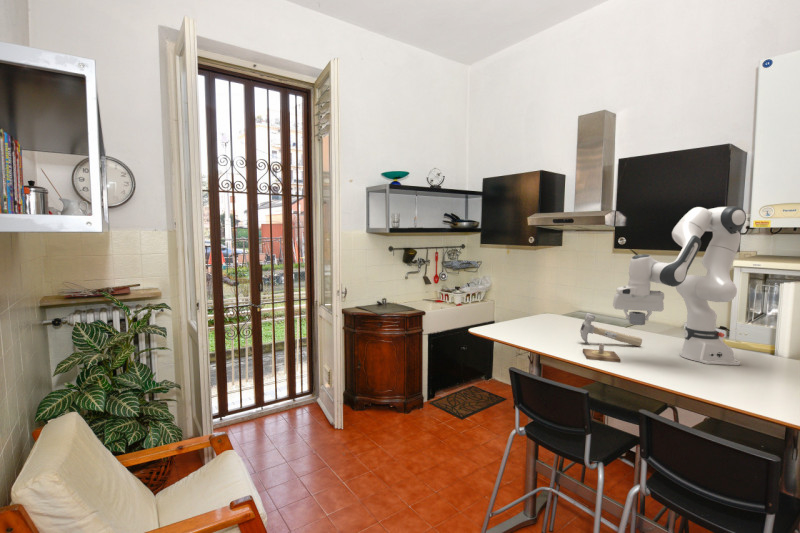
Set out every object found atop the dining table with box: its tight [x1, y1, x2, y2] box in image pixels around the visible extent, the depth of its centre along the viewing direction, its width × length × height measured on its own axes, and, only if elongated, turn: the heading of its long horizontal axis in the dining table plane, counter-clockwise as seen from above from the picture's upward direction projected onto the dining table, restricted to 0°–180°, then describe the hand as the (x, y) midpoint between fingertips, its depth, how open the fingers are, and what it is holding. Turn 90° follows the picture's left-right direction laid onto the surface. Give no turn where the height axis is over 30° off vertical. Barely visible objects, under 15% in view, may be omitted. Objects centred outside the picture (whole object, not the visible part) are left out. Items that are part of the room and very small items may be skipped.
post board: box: [582, 342, 622, 363], centre depth 191 cm, size 14×12×6 cm
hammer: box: [579, 312, 643, 347], centre depth 212 cm, size 16×5×30 cm
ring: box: [628, 310, 647, 326], centre depth 187 cm, size 6×6×5 cm
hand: (636, 319), depth 187 cm, fingers closed on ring, 6 cm apart
